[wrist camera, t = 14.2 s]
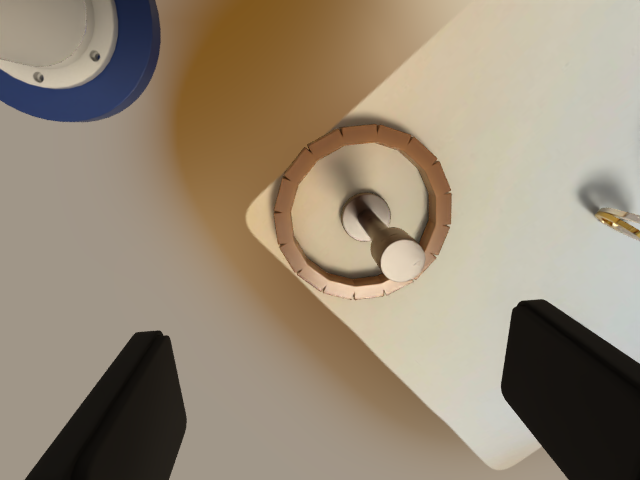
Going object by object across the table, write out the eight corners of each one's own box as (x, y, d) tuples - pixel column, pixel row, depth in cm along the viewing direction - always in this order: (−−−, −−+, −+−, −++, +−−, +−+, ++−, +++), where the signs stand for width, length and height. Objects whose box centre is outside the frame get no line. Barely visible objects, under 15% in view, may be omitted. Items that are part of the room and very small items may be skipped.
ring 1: (241, 227, 35) (238, 233, 34) (352, 84, 32) (356, 82, 30) (367, 318, 40) (371, 327, 38) (476, 201, 37) (486, 204, 35)
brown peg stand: (331, 218, 36) (352, 266, 24) (363, 182, 35) (403, 211, 23) (365, 247, 37) (402, 306, 25) (397, 213, 36) (452, 256, 24)
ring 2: (634, 222, 39) (718, 244, 31) (614, 245, 40) (691, 273, 32) (592, 191, 37) (669, 207, 30) (572, 216, 38) (642, 238, 30)
